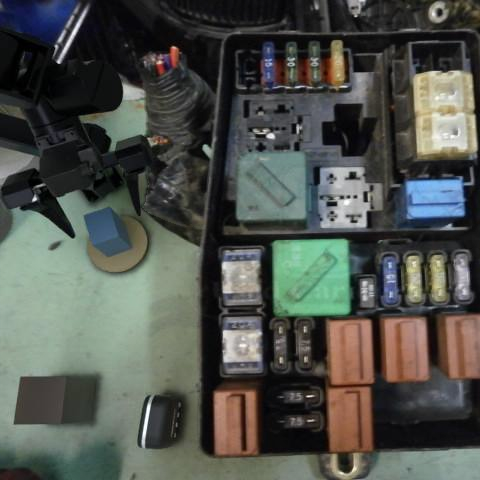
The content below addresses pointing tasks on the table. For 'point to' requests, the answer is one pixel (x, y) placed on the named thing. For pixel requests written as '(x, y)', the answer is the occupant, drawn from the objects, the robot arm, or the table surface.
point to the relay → (107, 232)
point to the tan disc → (125, 258)
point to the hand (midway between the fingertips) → (107, 226)
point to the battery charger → (159, 421)
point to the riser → (54, 400)
